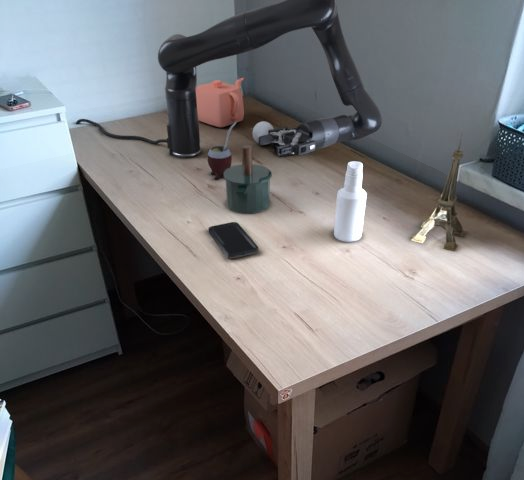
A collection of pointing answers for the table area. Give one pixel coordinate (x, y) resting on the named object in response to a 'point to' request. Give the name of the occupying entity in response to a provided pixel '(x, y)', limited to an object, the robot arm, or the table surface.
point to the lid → (247, 171)
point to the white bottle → (350, 205)
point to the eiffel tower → (447, 201)
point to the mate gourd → (220, 158)
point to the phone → (233, 240)
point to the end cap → (275, 145)
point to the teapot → (220, 103)
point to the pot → (248, 197)
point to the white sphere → (261, 130)
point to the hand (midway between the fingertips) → (268, 146)
